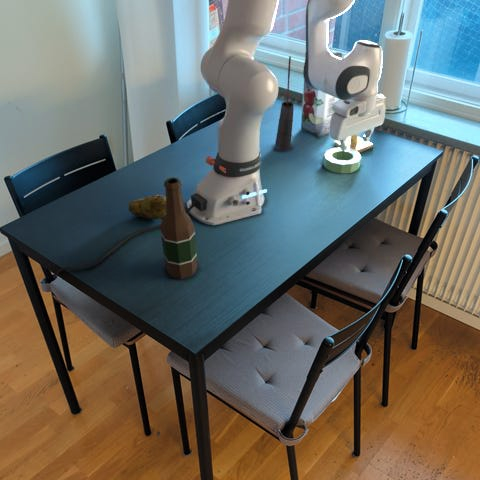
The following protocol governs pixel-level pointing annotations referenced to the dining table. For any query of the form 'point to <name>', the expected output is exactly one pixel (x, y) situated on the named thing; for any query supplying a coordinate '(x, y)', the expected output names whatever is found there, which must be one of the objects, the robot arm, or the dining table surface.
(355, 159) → the ring
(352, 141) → the stand
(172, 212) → the beer bottle
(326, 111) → the juice carton
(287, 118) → the butter churn
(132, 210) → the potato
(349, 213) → the dining table surface
